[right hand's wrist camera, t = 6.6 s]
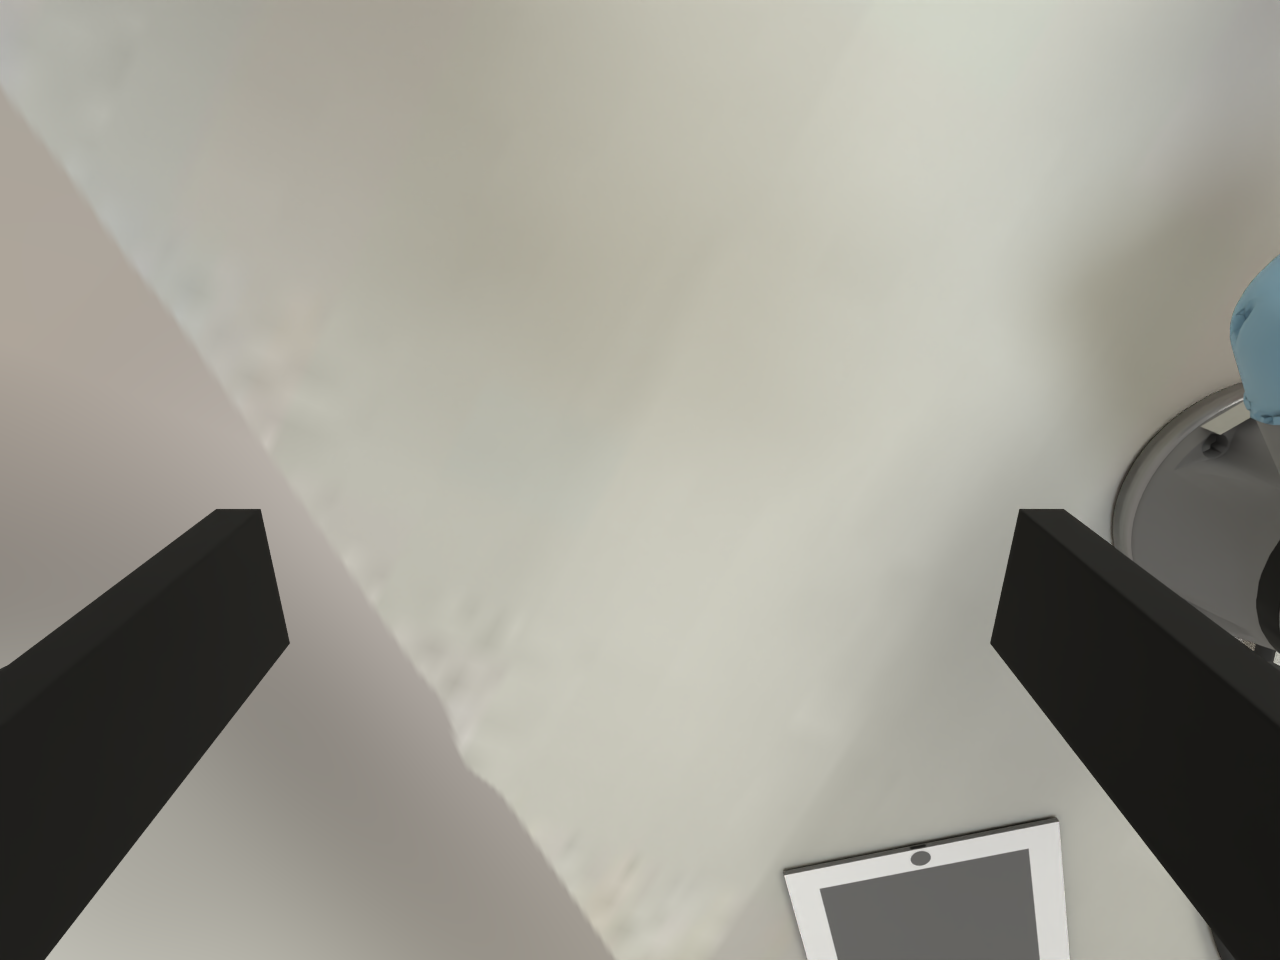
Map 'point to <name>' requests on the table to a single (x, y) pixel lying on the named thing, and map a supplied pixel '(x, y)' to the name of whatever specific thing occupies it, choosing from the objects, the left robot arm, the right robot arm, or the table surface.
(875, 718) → the table surface
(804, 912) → the tablet
